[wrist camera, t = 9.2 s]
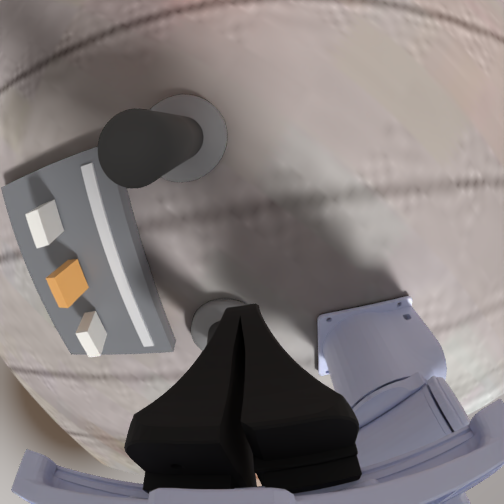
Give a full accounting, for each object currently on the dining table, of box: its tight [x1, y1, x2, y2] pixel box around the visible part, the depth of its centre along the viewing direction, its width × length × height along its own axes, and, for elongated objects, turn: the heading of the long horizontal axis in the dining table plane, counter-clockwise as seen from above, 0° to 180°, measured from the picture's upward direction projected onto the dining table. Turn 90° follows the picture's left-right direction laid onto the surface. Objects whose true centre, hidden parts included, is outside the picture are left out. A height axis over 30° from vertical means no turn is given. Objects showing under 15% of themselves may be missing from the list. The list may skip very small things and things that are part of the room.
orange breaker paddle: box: [46, 259, 89, 308], centre depth 19 cm, size 1×3×3 cm, turn 9°
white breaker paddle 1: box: [25, 200, 64, 248], centre depth 17 cm, size 1×3×3 cm, turn 9°
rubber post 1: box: [98, 94, 227, 188], centre depth 14 cm, size 6×6×10 cm
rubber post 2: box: [191, 299, 247, 351], centre depth 21 cm, size 6×6×10 cm
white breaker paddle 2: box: [75, 311, 107, 357], centre depth 21 cm, size 1×3×3 cm, turn 9°
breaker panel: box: [1, 147, 176, 355], centre depth 21 cm, size 12×18×2 cm, turn 9°
